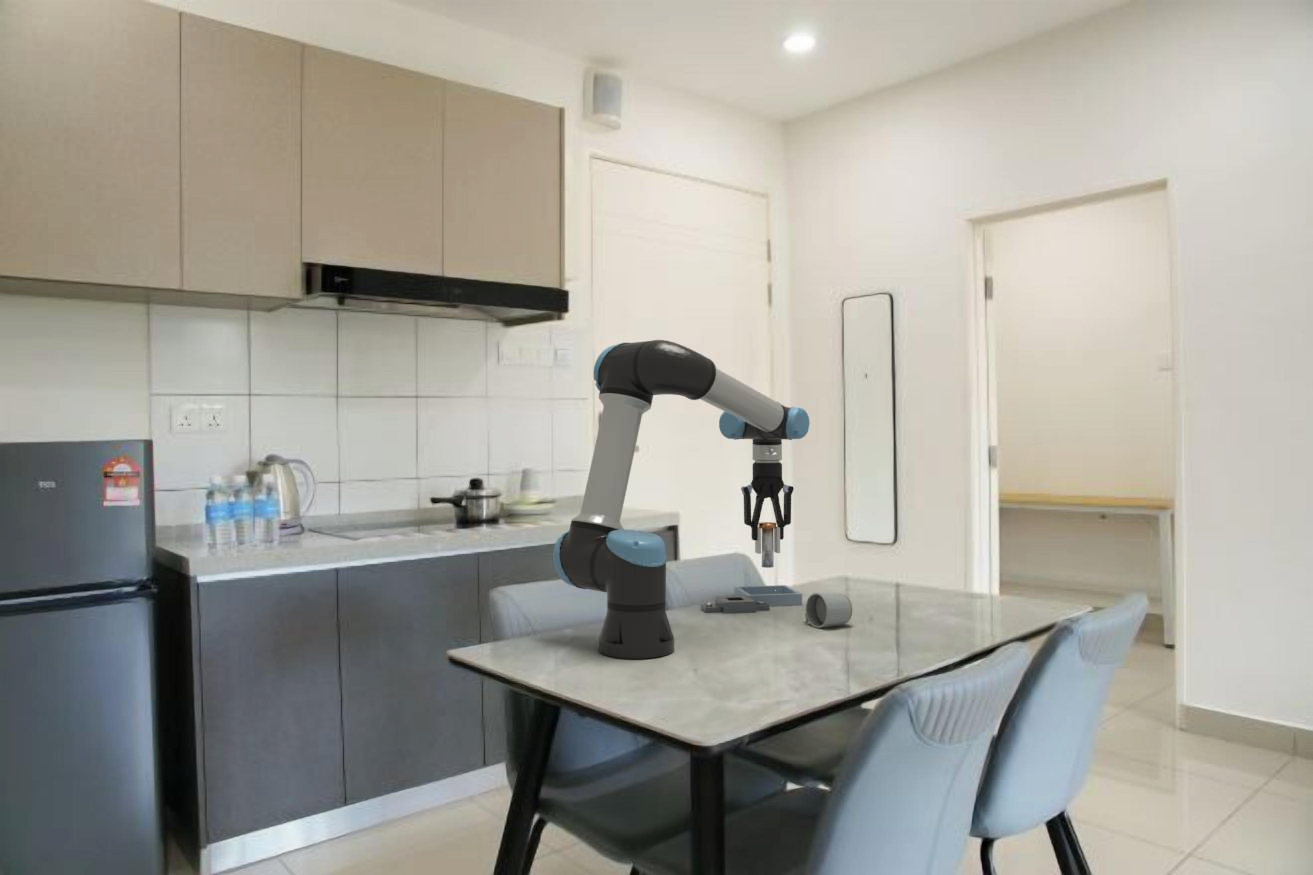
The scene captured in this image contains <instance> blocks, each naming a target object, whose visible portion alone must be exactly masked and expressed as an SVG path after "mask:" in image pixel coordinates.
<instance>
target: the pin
mask: <svg viewBox="0 0 1313 875" xmlns="http://www.w3.org/2000/svg"><path fill="white" fill-rule="evenodd" d="M758 527H759V528H761V567H762V568H774V567H775V566H774V565H775V564H774V560H775V559H774V554H775V552H774V528H776V527H777V523H776V522H771V521H763V522H761V521H760V522H759V524H758Z"/></svg>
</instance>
